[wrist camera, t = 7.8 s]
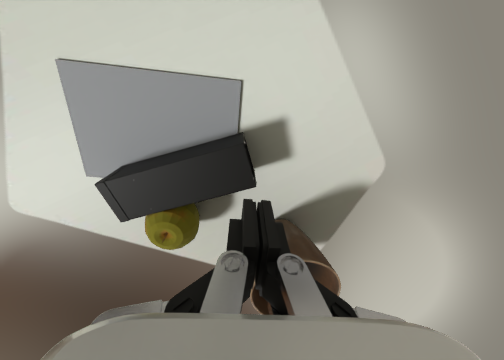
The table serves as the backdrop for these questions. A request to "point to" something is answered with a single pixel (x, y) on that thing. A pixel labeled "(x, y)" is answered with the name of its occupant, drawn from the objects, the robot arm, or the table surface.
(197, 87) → the mat
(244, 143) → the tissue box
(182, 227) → the apple
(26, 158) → the table surface
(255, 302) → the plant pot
